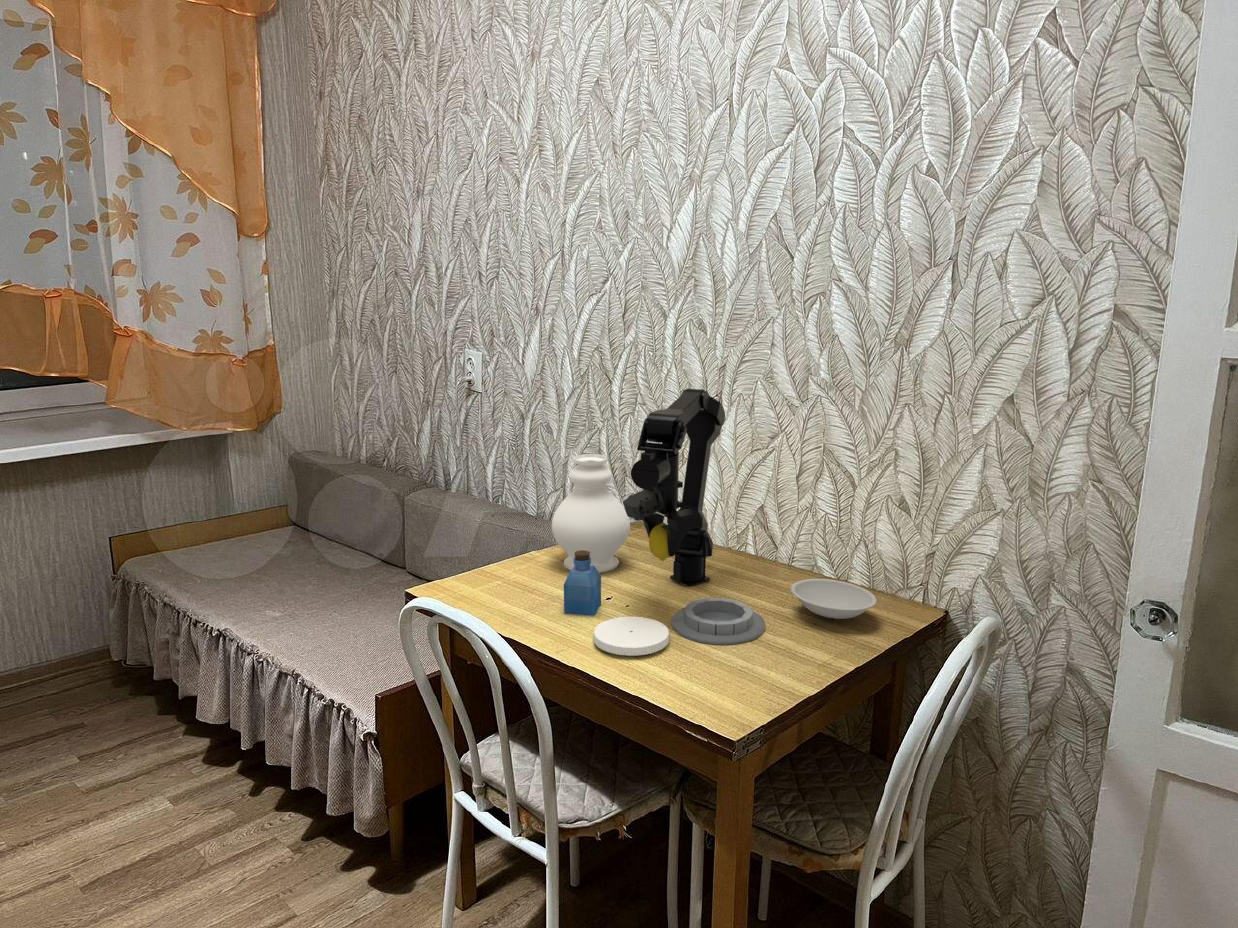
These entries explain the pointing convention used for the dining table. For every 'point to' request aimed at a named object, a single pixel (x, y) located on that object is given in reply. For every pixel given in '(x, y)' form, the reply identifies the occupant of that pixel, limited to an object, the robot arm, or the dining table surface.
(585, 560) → the perfume bottle
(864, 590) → the dish
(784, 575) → the dining table surface
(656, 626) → the plastic lid
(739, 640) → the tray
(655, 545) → the lemon
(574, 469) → the decorative vase
